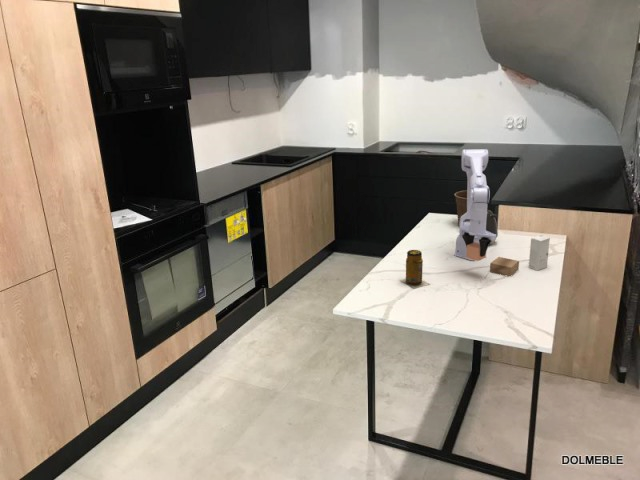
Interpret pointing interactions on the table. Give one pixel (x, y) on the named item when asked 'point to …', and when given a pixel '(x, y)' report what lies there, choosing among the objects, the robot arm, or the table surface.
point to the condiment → (414, 269)
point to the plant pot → (461, 204)
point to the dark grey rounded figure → (491, 224)
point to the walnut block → (504, 266)
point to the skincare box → (539, 252)
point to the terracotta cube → (474, 251)
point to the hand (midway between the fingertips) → (476, 254)
